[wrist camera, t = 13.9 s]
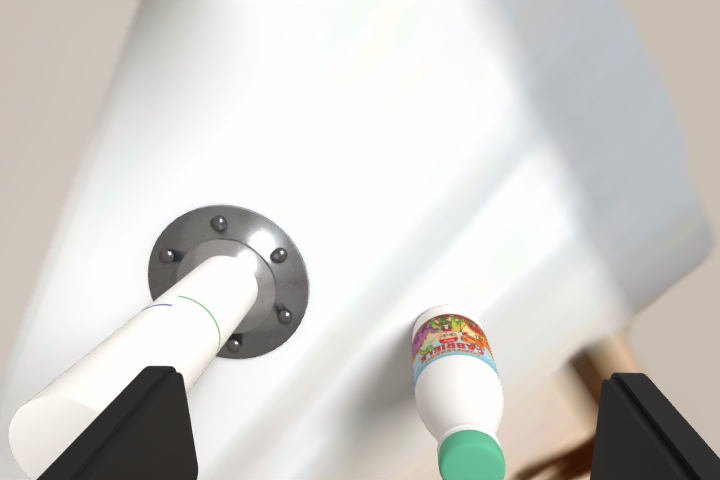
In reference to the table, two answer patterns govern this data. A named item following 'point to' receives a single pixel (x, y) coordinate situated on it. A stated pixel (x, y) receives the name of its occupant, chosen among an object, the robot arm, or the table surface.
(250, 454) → the table surface
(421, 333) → the milk bottle
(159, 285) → the flange
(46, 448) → the cylindrical container
